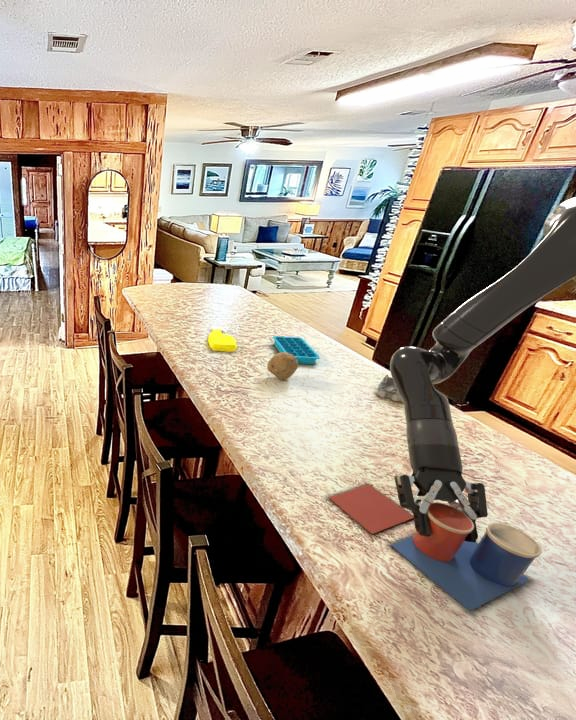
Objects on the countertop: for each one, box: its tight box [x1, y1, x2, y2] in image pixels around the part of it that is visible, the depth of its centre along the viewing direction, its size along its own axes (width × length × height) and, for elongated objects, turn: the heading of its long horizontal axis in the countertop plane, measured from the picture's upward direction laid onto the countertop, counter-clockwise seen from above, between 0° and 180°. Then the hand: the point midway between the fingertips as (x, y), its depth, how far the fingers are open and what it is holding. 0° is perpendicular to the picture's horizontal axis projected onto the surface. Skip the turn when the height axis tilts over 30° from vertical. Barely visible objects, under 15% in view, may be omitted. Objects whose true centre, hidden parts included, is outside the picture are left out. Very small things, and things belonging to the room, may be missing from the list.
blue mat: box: [390, 535, 530, 612], centre depth 70 cm, size 16×13×1 cm
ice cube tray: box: [272, 335, 321, 365], centre depth 151 cm, size 12×20×3 cm, turn 173°
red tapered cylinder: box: [412, 502, 474, 562], centre depth 71 cm, size 7×7×8 cm
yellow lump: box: [207, 326, 238, 353], centre depth 163 cm, size 3×11×24 cm
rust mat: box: [328, 483, 414, 535], centre depth 81 cm, size 12×10×1 cm
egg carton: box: [376, 374, 403, 403], centre depth 123 cm, size 11×8×4 cm
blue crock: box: [469, 522, 543, 586], centre depth 67 cm, size 7×7×8 cm
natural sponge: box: [267, 352, 299, 381], centre depth 131 cm, size 9×9×10 cm
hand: (447, 538), depth 69 cm, fingers closed on red tapered cylinder, 6 cm apart
